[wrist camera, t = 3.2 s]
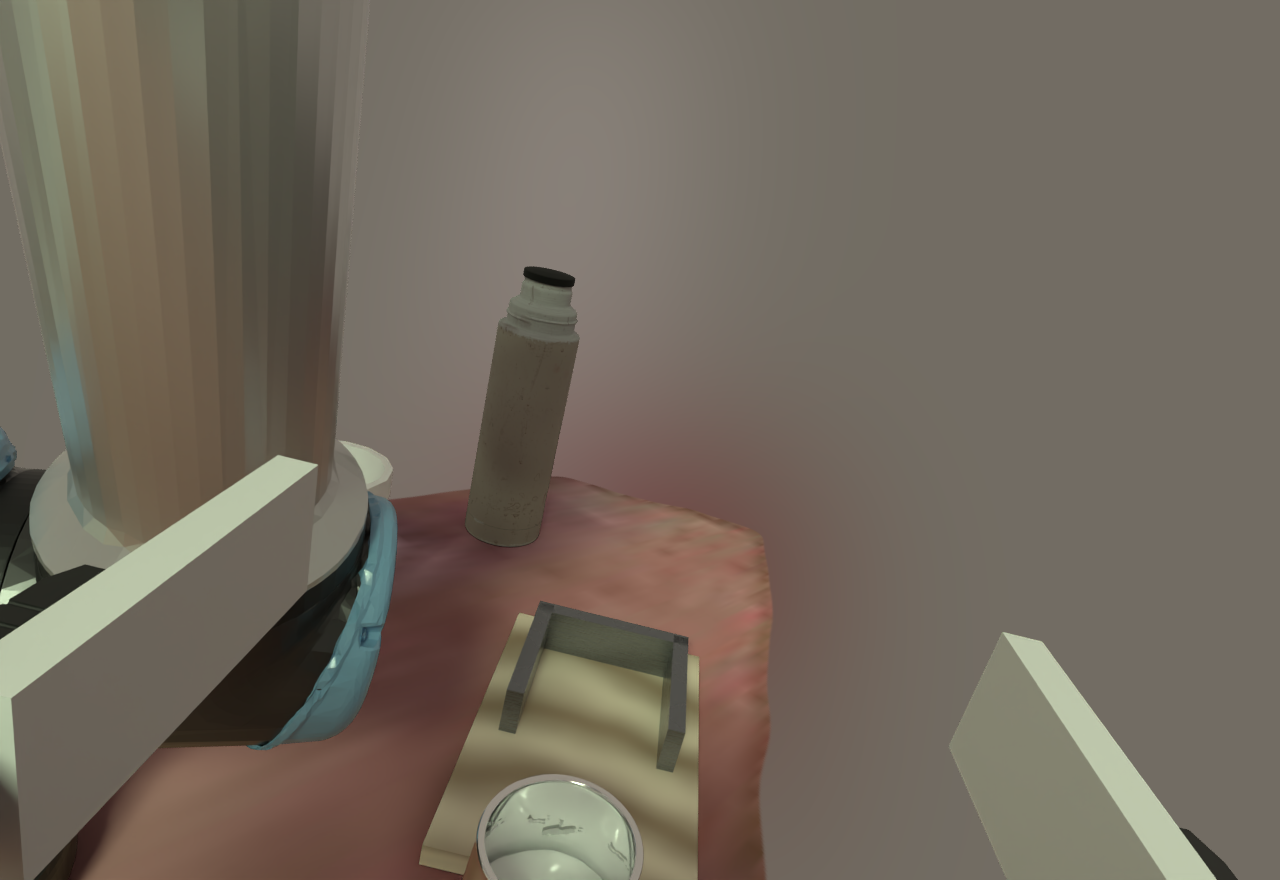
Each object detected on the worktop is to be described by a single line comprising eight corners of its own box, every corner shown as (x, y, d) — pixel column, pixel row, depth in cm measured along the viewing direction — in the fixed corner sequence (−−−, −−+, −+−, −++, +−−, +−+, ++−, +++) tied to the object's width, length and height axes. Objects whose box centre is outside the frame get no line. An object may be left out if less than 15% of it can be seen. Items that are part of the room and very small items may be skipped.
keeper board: (690, 930, 43) (697, 912, 43) (418, 864, 43) (422, 845, 43) (694, 670, 66) (699, 656, 65) (516, 627, 66) (519, 612, 65)
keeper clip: (672, 772, 52) (685, 733, 51) (498, 729, 52) (506, 689, 51) (677, 671, 63) (688, 637, 61) (532, 636, 62) (540, 600, 61)
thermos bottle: (504, 504, 86) (550, 261, 77) (554, 535, 82) (608, 283, 73) (449, 520, 80) (491, 258, 71) (499, 554, 76) (551, 281, 66)
